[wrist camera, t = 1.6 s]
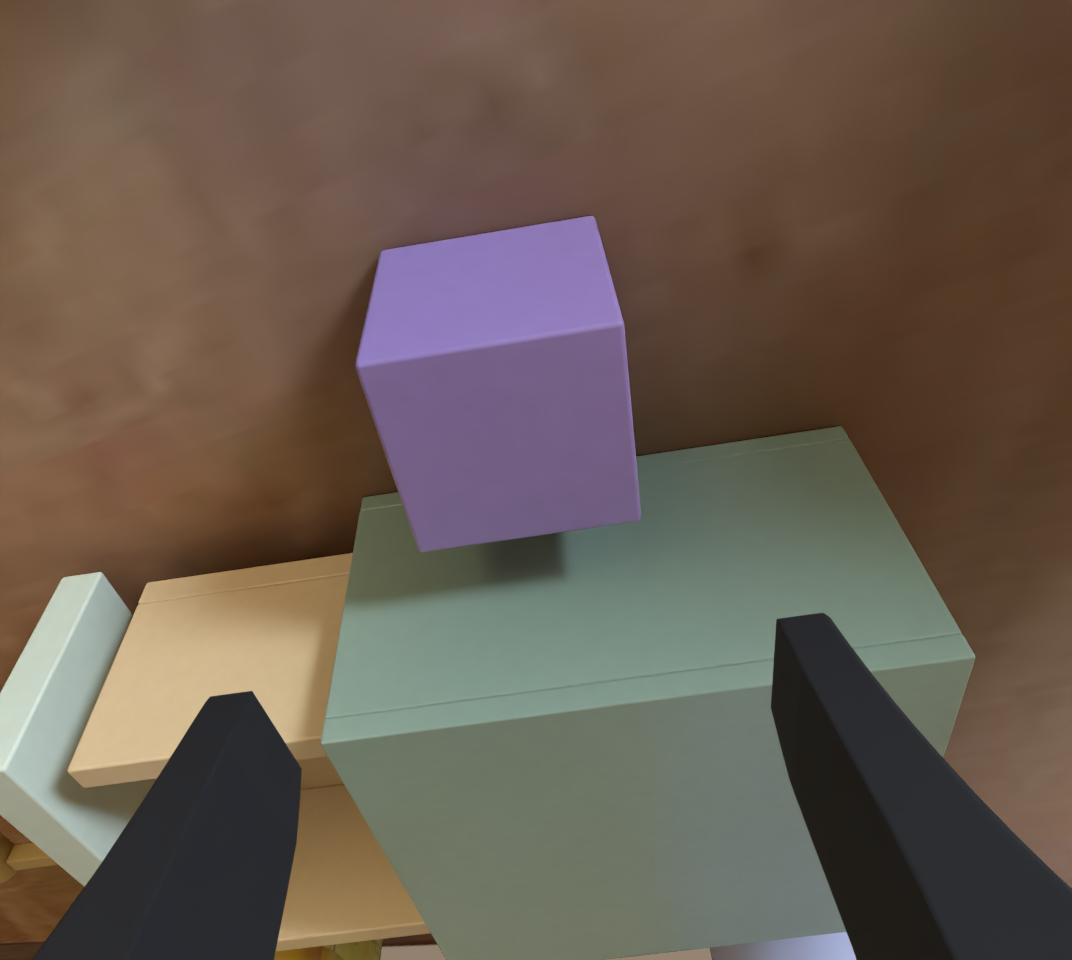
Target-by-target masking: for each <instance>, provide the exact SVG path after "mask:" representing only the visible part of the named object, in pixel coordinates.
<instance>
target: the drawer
mask: <svg viewBox="0 0 1072 960" xmlns="http://www.w3.org/2000/svg"><path fill="white" fill-rule="evenodd" d="M352 555H353V553H348V554H342V555H335V556H328V557H321V558H314V559H307V560H300V561H293V562H287V563H280V564H273V565H266V566H259V567H252V568H245V569H238V570H232V571H225V572H218V573H211V574H204V575H197V576H190V577H183V578H177V579H170V580H163V581H156V582H149V583H147V584H146V586H145V588H144V590H143V593H142V595H141V598H140V600H139V602H138V604H139V605H138V606H137V608H136V610H135V612H134V615H132V613H131V612H130V610H129V609H128V608H127V606H126V605H125V603H124V602H123V601H122V599H121V598H120V597H119V595H118V594H117V592H116V591H115V590H114V588H113V587H112V585H111V584H110V583H109V581H108V580H107V579H106V577H105V576H104V574H103V573H101V572H96V573H90V574H83V575H76V576H69V577H64V578H62V579H61V581H60V583H59V585H58V587H57V588H56V590H55V592H54V594H53V596H52V598H51V600H50V601H49V603H48V605H47V607H46V609H45V611H44V613H43V614H42V616H41V618H40V620H39V622H38V624H37V626H36V627H35V629H34V631H33V633H32V635H31V637H30V639H29V640H28V642H27V644H26V646H25V648H24V650H23V652H22V653H21V655H20V657H19V659H18V661H17V663H16V664H15V666H14V668H13V670H12V672H11V674H10V676H9V677H8V679H7V681H6V683H5V685H4V687H3V689H2V690H1V692H0V815H1V816H2V817H3V818H4V819H6V820H7V821H8V822H9V823H10V824H11V825H13V826H14V827H15V828H16V829H17V830H18V831H20V832H21V833H22V834H23V835H24V836H25V837H27V838H28V839H29V840H30V841H31V843H23V844H13V843H12V842H11V841H10V840H9V839H7V838H6V837H5V836H4V835H3V834H1V833H0V884H1V883H4V882H6V881H7V880H9V879H10V878H12V877H13V876H14V875H15V874H16V873H17V871H18V870H23V869H31V868H39V867H46V866H54V865H59V866H60V867H62V868H63V869H64V870H65V871H66V872H67V873H69V874H70V875H71V876H72V877H73V878H74V879H76V880H77V881H78V882H79V883H80V884H82V885H83V886H84V887H85V885H86V884H87V883H88V881H89V880H90V879H91V877H92V876H93V874H94V873H95V871H96V870H97V869H98V867H99V866H100V864H101V863H102V861H103V860H104V858H105V857H106V855H107V854H108V852H109V851H110V849H111V848H112V846H113V845H114V843H115V842H116V840H117V839H118V837H119V836H120V834H121V833H122V831H123V830H124V828H125V827H126V825H127V824H128V822H129V821H130V819H131V818H132V816H133V815H134V813H135V812H136V810H137V809H138V807H139V806H140V804H141V803H142V801H143V800H144V798H145V796H146V795H147V793H148V792H149V790H150V789H151V787H152V785H153V784H154V782H155V781H156V779H157V778H158V776H159V775H160V773H161V771H162V770H163V768H164V767H165V765H166V763H167V762H168V760H169V759H170V757H171V756H172V754H173V752H174V751H175V749H176V748H177V746H178V744H179V743H180V741H181V740H182V738H183V737H184V735H185V733H186V732H187V730H188V729H189V727H190V725H191V724H192V722H193V721H194V719H195V718H196V716H197V714H198V713H199V711H200V710H201V708H202V707H203V705H204V704H205V702H206V701H207V700H208V698H209V697H210V696H218V695H225V694H232V693H240V692H247V691H253V693H254V695H255V696H256V698H257V699H258V701H259V702H260V704H261V706H262V707H263V709H264V710H265V712H266V713H267V715H268V717H269V718H270V720H271V721H272V723H273V724H274V726H275V728H276V729H277V731H278V732H279V734H280V735H281V737H282V739H283V740H284V742H285V743H286V745H287V746H288V748H289V750H290V751H291V753H292V754H293V756H294V757H295V759H296V761H297V762H298V764H299V765H300V767H301V768H302V775H301V791H300V808H299V820H298V831H297V842H296V848H295V854H294V859H293V865H292V870H291V875H290V880H289V886H288V891H287V896H286V901H285V906H284V911H283V916H282V921H281V926H280V931H279V936H278V941H277V947H276V951H283V950H292V949H300V948H309V947H317V946H326V945H334V944H343V943H351V942H360V941H368V940H377V939H385V938H394V937H402V936H411V935H419V934H428V933H431V932H430V931H429V929H428V927H427V926H426V924H425V922H424V920H423V919H422V917H421V915H420V914H419V912H418V910H417V908H416V907H415V905H414V903H413V902H412V900H411V898H410V896H409V895H408V893H407V891H406V890H405V888H404V886H403V884H402V883H401V881H400V879H399V878H398V876H397V874H396V873H395V871H394V869H393V867H392V866H391V864H390V862H389V861H388V859H387V857H386V855H385V854H384V852H383V850H382V849H381V847H380V845H379V843H378V842H377V840H376V838H375V837H374V835H373V833H372V831H371V830H370V828H369V826H368V825H367V823H366V821H365V819H364V818H363V816H362V814H361V813H360V811H359V809H358V807H357V806H356V804H355V802H354V801H353V799H352V797H351V795H350V794H349V792H348V790H347V789H346V787H345V785H344V784H343V782H342V780H341V778H340V777H339V775H338V773H337V772H336V770H335V768H334V766H333V765H332V763H331V761H330V760H329V758H328V756H327V754H326V753H325V751H324V749H323V748H322V746H321V744H320V742H321V736H322V730H323V724H324V720H325V713H326V707H327V701H328V696H329V690H330V684H331V678H332V672H333V666H334V660H335V655H336V649H337V643H338V637H339V631H340V625H341V619H342V613H343V608H344V602H345V596H346V590H347V584H348V578H349V572H350V566H351V561H352Z"/></svg>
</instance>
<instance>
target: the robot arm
mask: <svg viewBox="0 0 1072 960" xmlns="http://www.w3.org/2000/svg"><path fill="white" fill-rule="evenodd" d="M771 710H772V714H773V718H774V722H775V726H776V730H777V734H778V738H779V742H780V746H781V750H782V753H783V757H784V761H785V765H786V768H787V772H788V776H789V780H790V783H791V785H792V788H793V791H794V794H795V796H796V799H797V802H798V804H799V807H800V810H801V812H802V815H803V818H804V820H805V823H806V826H807V829H808V831H809V834H810V837H811V839H812V842H813V845H814V847H815V850H816V852H817V855H818V858H819V860H820V863H821V866H822V868H823V871H824V874H825V876H826V879H827V882H828V884H829V887H830V890H831V892H832V895H833V897H834V900H835V903H836V905H837V908H838V911H839V913H840V916H841V919H842V921H843V924H844V927H845V929H846V932H841V933H832V934H823V935H815V936H806V937H797V938H788V939H780V940H771V941H762V942H754V943H745V944H736V945H727V946H719V947H710V951H711V956H712V960H1072V889H1071V888H1070V887H1069V886H1068V885H1067V884H1066V883H1065V882H1064V881H1063V880H1062V879H1061V878H1060V877H1058V876H1057V875H1056V874H1055V873H1054V872H1053V871H1052V870H1051V869H1050V868H1049V867H1048V866H1047V865H1046V864H1045V863H1044V862H1043V861H1042V860H1041V859H1040V858H1039V857H1038V856H1037V855H1036V854H1034V853H1033V852H1032V851H1031V850H1030V849H1029V848H1028V847H1027V846H1026V845H1025V844H1024V843H1023V842H1022V841H1021V840H1020V839H1019V838H1018V837H1017V836H1016V835H1015V834H1014V833H1013V832H1012V831H1011V830H1010V829H1009V828H1008V827H1007V826H1006V825H1005V823H1004V822H1003V821H1002V820H1001V819H1000V818H999V817H998V816H997V815H996V814H995V813H994V812H993V811H992V810H991V809H990V808H989V807H988V806H987V805H986V804H985V803H984V802H983V801H982V800H981V799H980V798H979V797H978V796H977V794H976V793H975V792H974V791H973V790H972V789H971V788H970V787H969V786H968V785H967V784H966V783H965V782H964V780H963V779H962V778H961V777H960V776H959V775H958V774H957V773H956V772H955V771H954V770H953V769H952V767H951V766H950V765H949V764H948V763H947V762H946V761H945V759H944V758H943V757H942V756H941V755H940V754H939V753H938V752H937V750H936V749H935V748H934V747H933V746H932V745H931V744H930V742H929V741H928V740H927V739H926V738H925V737H924V736H923V735H922V733H921V732H920V731H919V730H918V729H917V728H916V727H915V725H914V724H913V723H912V722H911V721H910V720H909V718H908V717H907V716H906V715H905V714H904V712H903V711H902V710H901V709H900V708H899V706H898V705H897V704H896V703H895V702H894V700H893V699H892V698H891V697H890V695H889V694H888V693H887V692H886V690H885V689H884V688H883V687H882V686H881V684H880V683H879V682H878V681H877V679H876V678H875V677H874V676H873V674H872V673H871V672H870V670H869V669H868V668H867V667H866V665H865V664H864V663H863V661H862V660H861V659H860V657H859V656H858V655H857V654H856V652H855V651H854V650H853V648H852V647H851V646H850V644H849V643H848V641H847V640H846V639H845V637H844V636H843V635H842V633H841V632H840V630H839V629H838V628H837V626H836V625H835V623H834V622H833V621H832V619H831V618H830V617H829V616H827V615H826V614H824V613H816V614H809V615H802V616H794V617H787V618H780V619H776V635H775V650H774V666H773V681H772V696H771ZM301 775H302V768H301V767H300V765H299V764H298V762H297V761H296V759H295V757H294V756H293V754H292V753H291V751H290V750H289V748H288V746H287V745H286V743H285V742H284V740H283V739H282V737H281V735H280V734H279V732H278V731H277V729H276V728H275V726H274V724H273V723H272V721H271V720H270V718H269V717H268V715H267V713H266V712H265V710H264V709H263V707H262V706H261V704H260V702H259V701H258V699H257V698H256V696H255V695H254V693H253V691H247V692H240V693H232V694H225V695H218V696H210V697H209V698H208V700H207V701H206V702H205V704H204V705H203V707H202V708H201V710H200V711H199V713H198V714H197V716H196V718H195V719H194V721H193V722H192V724H191V725H190V727H189V729H188V730H187V732H186V733H185V735H184V737H183V738H182V740H181V741H180V743H179V744H178V746H177V748H176V749H175V751H174V752H173V754H172V756H171V757H170V759H169V760H168V762H167V763H166V765H165V767H164V768H163V770H162V771H161V773H160V775H159V776H158V778H157V779H156V781H155V782H154V784H153V785H152V787H151V789H150V790H149V792H148V793H147V795H146V796H145V798H144V800H143V801H142V803H141V804H140V806H139V807H138V809H137V810H136V812H135V813H134V815H133V816H132V818H131V819H130V821H129V822H128V824H127V825H126V827H125V828H124V830H123V831H122V833H121V834H120V836H119V837H118V839H117V840H116V842H115V843H114V845H113V846H112V848H111V849H110V851H109V852H108V854H107V855H106V857H105V858H104V860H103V861H102V863H101V864H100V866H99V867H98V869H97V870H96V871H95V873H94V874H93V876H92V877H91V879H90V880H89V881H88V883H87V884H86V885H85V887H84V888H83V890H82V891H81V892H80V894H79V895H78V897H77V898H76V899H75V901H74V902H73V904H72V905H71V906H70V908H69V909H68V911H67V912H66V913H65V915H64V916H63V918H62V919H61V920H60V922H59V923H58V924H57V926H56V927H55V929H54V930H53V931H52V933H51V934H50V936H49V937H48V938H47V940H46V941H45V942H44V944H43V945H42V946H41V948H40V949H39V950H38V952H37V953H36V954H35V955H34V957H33V958H32V959H31V960H274V957H275V952H276V947H277V941H278V936H279V931H280V926H281V921H282V916H283V911H284V906H285V901H286V896H287V891H288V886H289V880H290V875H291V870H292V865H293V859H294V854H295V848H296V842H297V831H298V820H299V808H300V791H301Z"/></svg>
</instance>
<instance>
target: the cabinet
mask: <svg viewBox="0 0 1072 960" xmlns="http://www.w3.org/2000/svg"><path fill="white" fill-rule="evenodd" d="M636 462H637V473H638V484H639V495H640V506H641V519H640V520H639V521H636V522H629V523H622V524H615V525H608V526H601V527H595V528H588V529H581V530H574V531H567V532H560V533H553V534H546V535H539V536H532V537H525V538H518V539H512V540H505V541H498V542H491V543H484V544H477V545H470V546H463V547H456V548H449V549H442V550H436V551H429V552H420V551H419V550H418V548H417V545H416V542H415V539H414V536H413V533H412V530H411V527H410V525H409V522H408V519H407V516H406V513H405V510H404V507H403V504H402V501H401V498H400V496H399V493H398V492H395V493H389V494H382V495H375V496H369V497H364V498H362V503H361V509H360V514H359V520H358V525H357V531H356V537H355V543H354V549H353V555H352V561H351V566H350V572H349V578H348V584H347V590H346V596H345V602H344V608H343V613H342V619H341V625H340V631H339V637H338V643H337V649H336V655H335V660H334V666H333V672H332V678H331V684H330V690H329V696H328V701H327V707H326V713H325V720H324V724H323V730H322V736H321V742H320V744H321V746H322V748H323V749H324V751H325V753H326V754H327V756H328V758H329V760H330V761H331V763H332V765H333V766H334V768H335V770H336V772H337V773H338V775H339V777H340V778H341V780H342V782H343V784H344V785H345V787H346V789H347V790H348V792H349V794H350V795H351V797H352V799H353V801H354V802H355V804H356V806H357V807H358V809H359V811H360V813H361V814H362V816H363V818H364V819H365V821H366V823H367V825H368V826H369V828H370V830H371V831H372V833H373V835H374V837H375V838H376V840H377V842H378V843H379V845H380V847H381V849H382V850H383V852H384V854H385V855H386V857H387V859H388V861H389V862H390V864H391V866H392V867H393V869H394V871H395V873H396V874H397V876H398V878H399V879H400V881H401V883H402V884H403V886H404V888H405V890H406V891H407V893H408V895H409V896H410V898H411V900H412V902H413V903H414V905H415V907H416V908H417V910H418V912H419V914H420V915H421V917H422V919H423V920H424V922H425V924H426V926H427V927H428V929H429V931H430V932H431V934H432V936H433V938H434V939H435V941H436V943H437V944H438V946H439V948H440V950H441V951H442V953H443V955H444V956H445V958H446V960H605V959H614V958H623V957H631V956H640V955H649V954H657V953H666V952H675V951H684V950H692V949H701V948H710V947H719V946H727V945H736V944H745V943H754V942H762V941H771V940H780V939H788V938H797V937H806V936H815V935H823V934H832V933H841V932H846V929H845V927H844V924H843V921H842V919H841V916H840V913H839V911H838V908H837V905H836V903H835V900H834V897H833V895H832V892H831V890H830V887H829V884H828V882H827V879H826V876H825V874H824V871H823V868H822V866H821V863H820V860H819V858H818V855H817V852H816V850H815V847H814V845H813V842H812V839H811V837H810V834H809V831H808V829H807V826H806V823H805V820H804V818H803V815H802V812H801V810H800V807H799V804H798V802H797V799H796V796H795V794H794V791H793V788H792V785H791V783H790V780H789V776H788V772H787V768H786V765H785V761H784V757H783V753H782V750H781V746H780V742H779V738H778V734H777V730H776V726H775V722H774V718H773V714H772V710H771V696H772V681H773V666H774V650H775V635H776V619H780V618H787V617H794V616H802V615H809V614H816V613H824V614H826V615H827V616H829V617H830V618H831V619H832V621H833V622H834V623H835V625H836V626H837V628H838V629H839V630H840V632H841V633H842V635H843V636H844V637H845V639H846V640H847V641H848V643H849V644H850V646H851V647H852V648H853V650H854V651H855V652H856V654H857V655H858V656H859V657H860V659H861V660H862V661H863V663H864V664H865V665H866V667H867V668H868V669H869V670H870V672H871V673H872V674H873V676H874V677H875V678H876V679H877V681H878V682H879V683H880V684H881V686H882V687H883V688H884V689H885V690H886V692H887V693H888V694H889V695H890V697H891V698H892V699H893V700H894V702H895V703H896V704H897V705H898V706H899V708H900V709H901V710H902V711H903V712H904V714H905V715H906V716H907V717H908V718H909V720H910V721H911V722H912V723H913V724H914V725H915V727H916V728H917V729H918V730H919V731H920V732H921V733H922V735H923V736H924V737H925V738H926V739H927V740H928V741H929V742H930V744H931V745H932V746H933V747H934V748H935V749H936V750H937V752H938V753H939V754H940V755H941V756H942V757H944V754H945V751H946V748H947V744H948V741H949V738H950V735H951V732H952V729H953V726H954V723H955V720H956V717H957V714H958V711H959V707H960V704H961V701H962V698H963V695H964V692H965V689H966V686H967V683H968V680H969V677H970V674H971V670H972V667H973V664H974V661H975V655H974V653H973V651H972V649H971V648H970V646H969V644H968V642H967V641H966V639H965V637H964V636H963V635H962V634H961V631H960V629H959V627H958V625H957V624H956V622H955V620H954V618H953V617H952V615H951V613H950V612H949V610H948V608H947V606H946V605H945V603H944V601H943V599H942V598H941V596H940V594H939V592H938V591H937V589H936V587H935V586H934V584H933V582H932V580H931V579H930V577H929V575H928V573H927V572H926V570H925V568H924V567H923V565H922V563H921V561H920V560H919V558H918V556H917V554H916V553H915V551H914V549H913V547H912V546H911V544H910V542H909V541H908V539H907V537H906V535H905V534H904V532H903V530H902V528H901V527H900V525H899V523H898V522H897V520H896V518H895V516H894V515H893V513H892V511H891V509H890V508H889V506H888V504H887V502H886V501H885V499H884V497H883V496H882V494H881V492H880V490H879V489H878V487H877V485H876V483H875V482H874V480H873V478H872V477H871V475H870V473H869V471H868V470H867V468H866V466H865V464H864V463H863V461H862V459H861V457H860V456H859V454H858V452H857V451H856V449H855V447H854V445H853V444H852V442H851V440H849V437H848V435H847V434H846V432H845V430H844V429H843V427H842V426H838V427H831V428H824V429H818V430H811V431H804V432H798V433H791V434H784V435H777V436H771V437H764V438H757V439H751V440H744V441H737V442H731V443H724V444H717V445H710V446H704V447H697V448H690V449H684V450H677V451H670V452H664V453H657V454H650V455H643V456H637V457H636Z"/></svg>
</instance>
